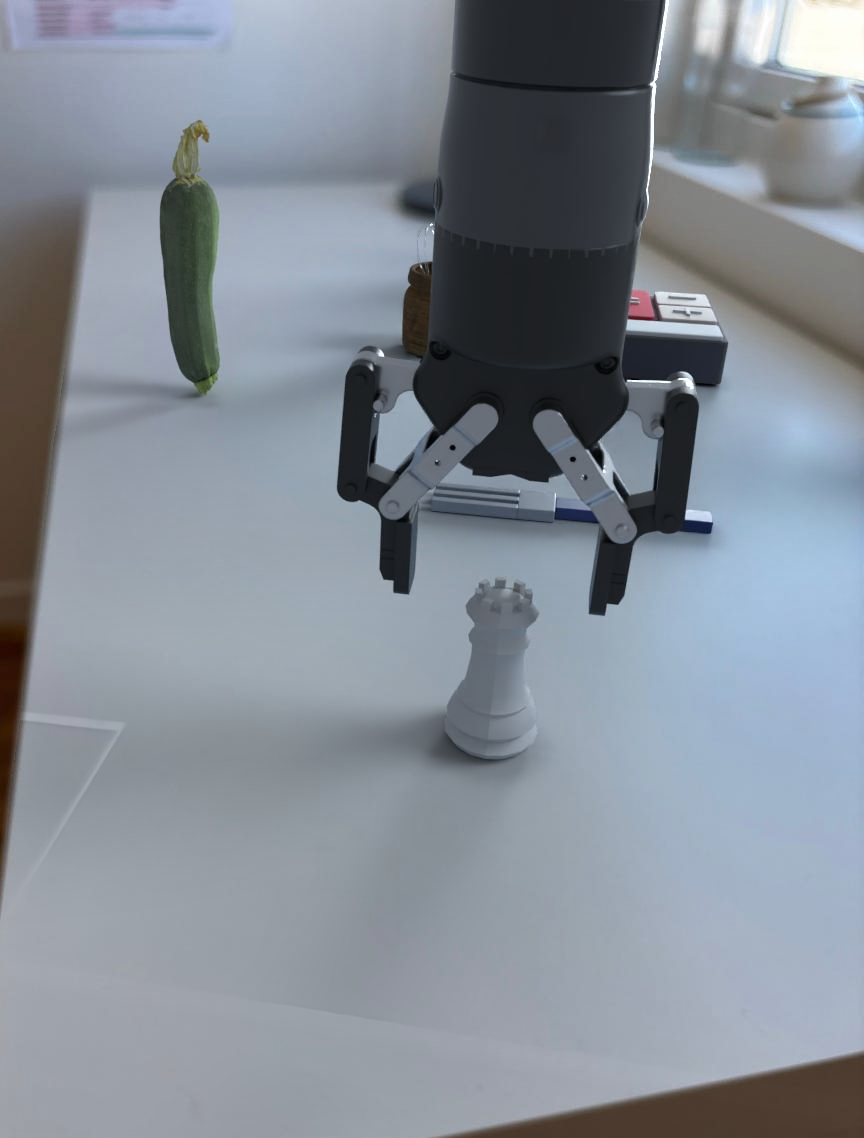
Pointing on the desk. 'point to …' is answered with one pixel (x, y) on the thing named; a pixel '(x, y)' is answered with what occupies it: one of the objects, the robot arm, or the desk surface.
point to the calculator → (673, 337)
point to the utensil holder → (417, 306)
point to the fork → (531, 505)
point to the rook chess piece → (495, 675)
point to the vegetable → (191, 262)
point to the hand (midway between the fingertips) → (498, 595)
